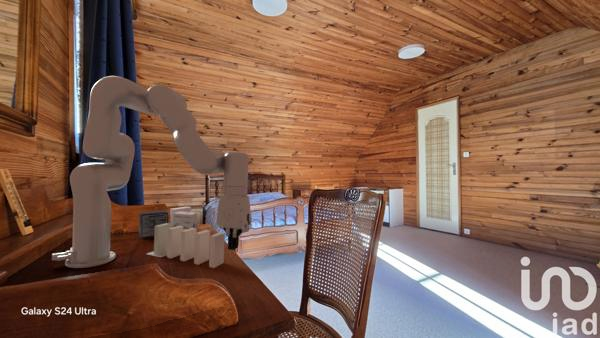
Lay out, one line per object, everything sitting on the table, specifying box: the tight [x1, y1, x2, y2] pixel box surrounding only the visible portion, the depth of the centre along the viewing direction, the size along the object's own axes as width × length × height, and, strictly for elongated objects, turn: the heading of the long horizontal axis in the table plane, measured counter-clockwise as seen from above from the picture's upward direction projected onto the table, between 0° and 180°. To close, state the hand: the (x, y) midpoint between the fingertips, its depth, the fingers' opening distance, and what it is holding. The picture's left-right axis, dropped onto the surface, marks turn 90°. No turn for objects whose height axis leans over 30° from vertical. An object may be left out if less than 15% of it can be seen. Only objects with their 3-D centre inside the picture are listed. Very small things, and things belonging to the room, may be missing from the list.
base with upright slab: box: [168, 206, 192, 228], centre depth 118 cm, size 9×9×12 cm
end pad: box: [146, 250, 167, 259], centre depth 93 cm, size 7×7×1 cm
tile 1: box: [208, 232, 226, 269], centre depth 84 cm, size 2×5×10 cm, turn 159°
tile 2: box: [193, 229, 211, 265], centre depth 87 cm, size 2×5×10 cm, turn 159°
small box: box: [138, 209, 169, 239], centre depth 114 cm, size 11×6×10 cm, turn 130°
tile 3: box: [179, 228, 196, 262], centre depth 89 cm, size 2×5×10 cm, turn 159°
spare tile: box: [153, 222, 170, 255], centre depth 93 cm, size 2×5×10 cm, turn 159°
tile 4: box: [166, 226, 183, 259], centre depth 91 cm, size 2×5×10 cm, turn 159°
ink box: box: [173, 211, 199, 233], centre depth 108 cm, size 9×5×12 cm, turn 84°
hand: (233, 248), depth 82 cm, fingers closed
